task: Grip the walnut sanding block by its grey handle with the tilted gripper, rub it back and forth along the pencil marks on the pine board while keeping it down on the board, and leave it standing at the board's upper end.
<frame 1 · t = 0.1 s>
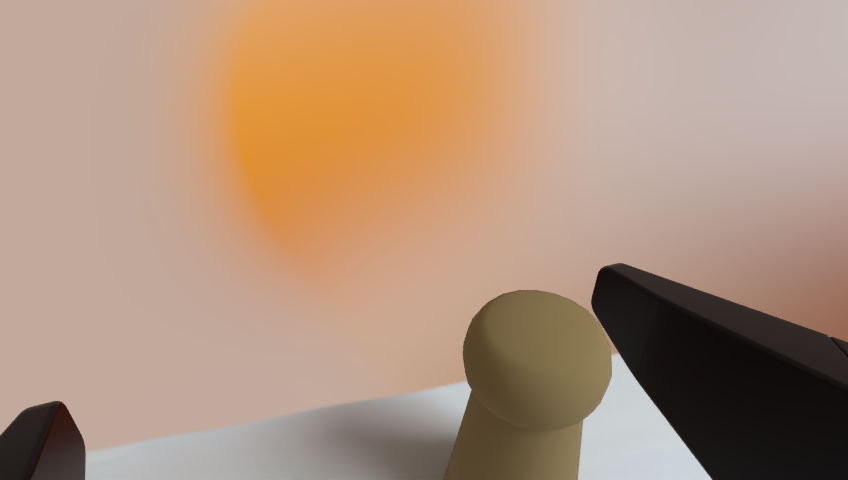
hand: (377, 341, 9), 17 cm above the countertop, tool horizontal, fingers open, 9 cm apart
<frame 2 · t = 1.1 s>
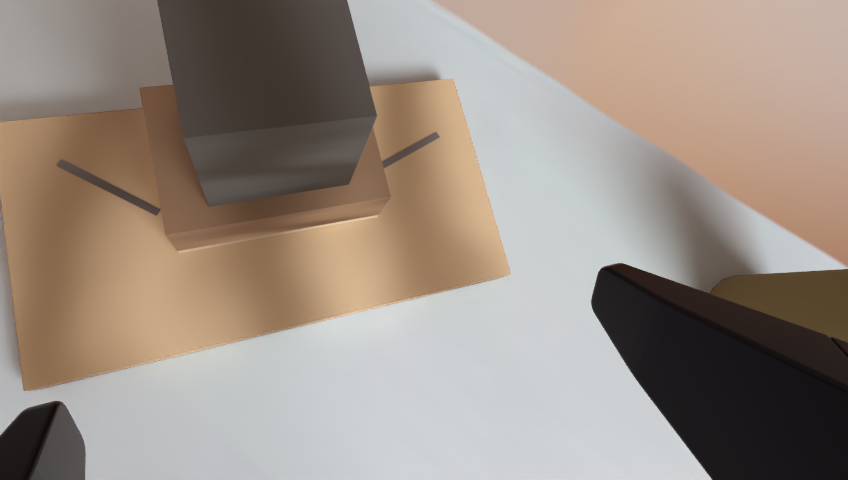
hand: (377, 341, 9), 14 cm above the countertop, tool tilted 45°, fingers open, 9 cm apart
pine board: (277, 213, 22), on the countertop
sanding block: (270, 172, 22), point 1 cm above the countertop, touching pine board
cork: (746, 330, 28), on the countertop
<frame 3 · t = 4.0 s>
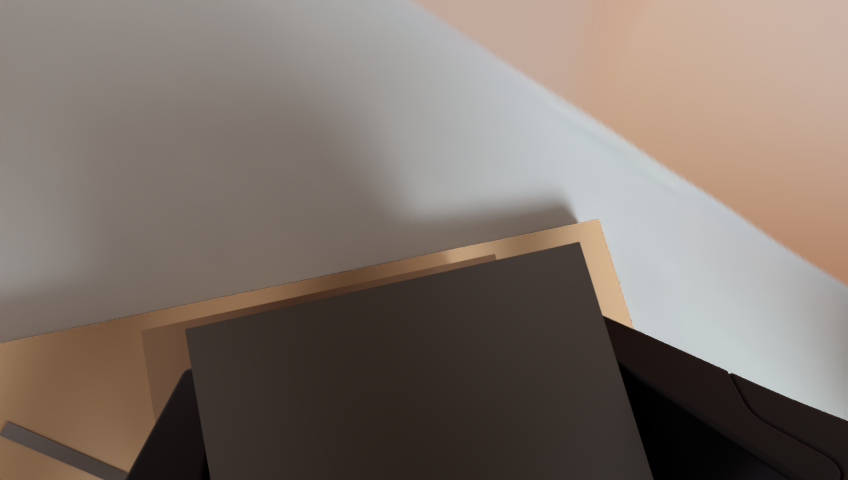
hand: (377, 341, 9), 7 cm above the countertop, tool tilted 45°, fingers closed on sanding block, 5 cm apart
pine board: (353, 455, 14), on the countertop
sanding block: (347, 403, 14), point 1 cm above the countertop, touching gripper, pine board
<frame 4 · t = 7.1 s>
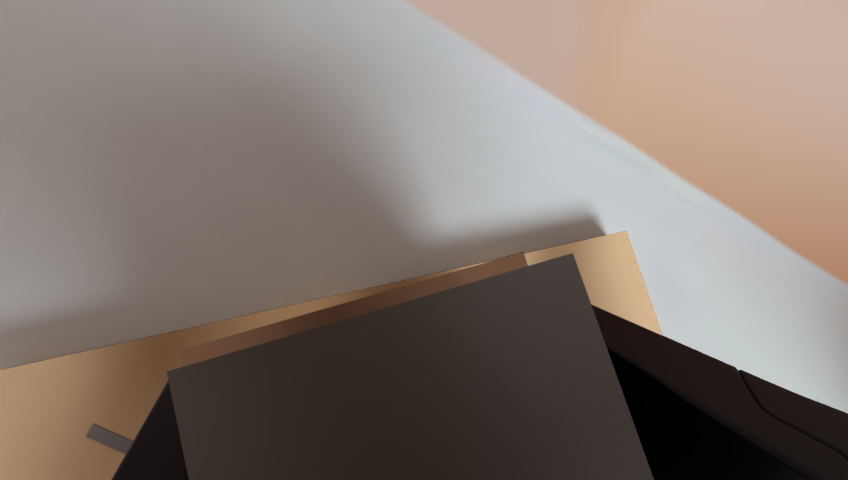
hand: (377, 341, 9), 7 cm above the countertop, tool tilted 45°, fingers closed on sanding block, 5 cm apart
pine board: (404, 456, 15), on the countertop
sanding block: (388, 406, 14), point 2 cm above the countertop, tilted 9°, touching gripper, pine board
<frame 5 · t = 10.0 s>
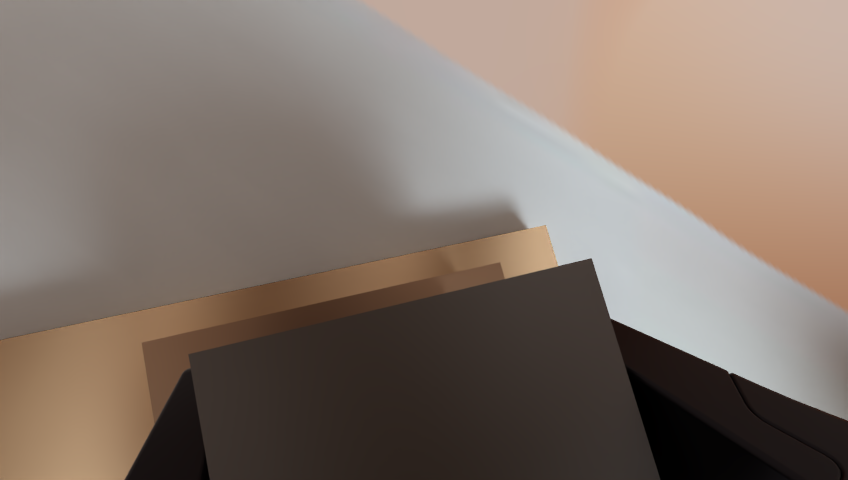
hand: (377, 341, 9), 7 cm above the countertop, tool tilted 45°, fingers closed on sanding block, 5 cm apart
pine board: (276, 478, 14), on the countertop
sanding block: (350, 412, 14), point 1 cm above the countertop, touching gripper
when the fingers open (7 cm above the countertop, at t = 12.9 s): sanding block stays where it is, resting on pine board.
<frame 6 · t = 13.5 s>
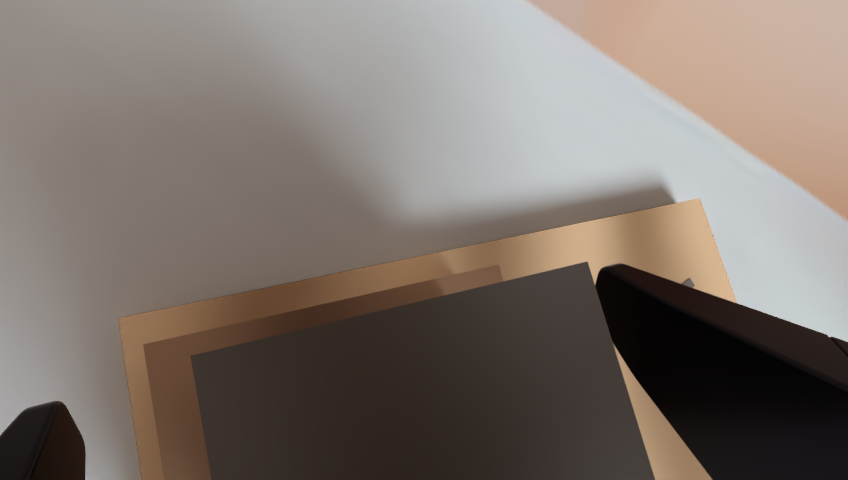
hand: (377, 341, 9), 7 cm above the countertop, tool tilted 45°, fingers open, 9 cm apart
pine board: (496, 409, 16), on the countertop
sanding block: (350, 414, 14), point 1 cm above the countertop, touching pine board
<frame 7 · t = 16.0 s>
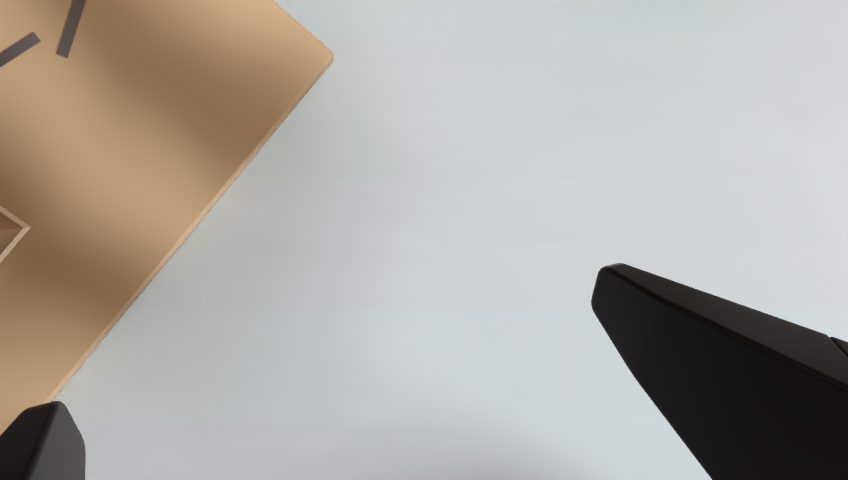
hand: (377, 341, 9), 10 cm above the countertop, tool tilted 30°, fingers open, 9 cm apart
pine board: (16, 182, 16), on the countertop
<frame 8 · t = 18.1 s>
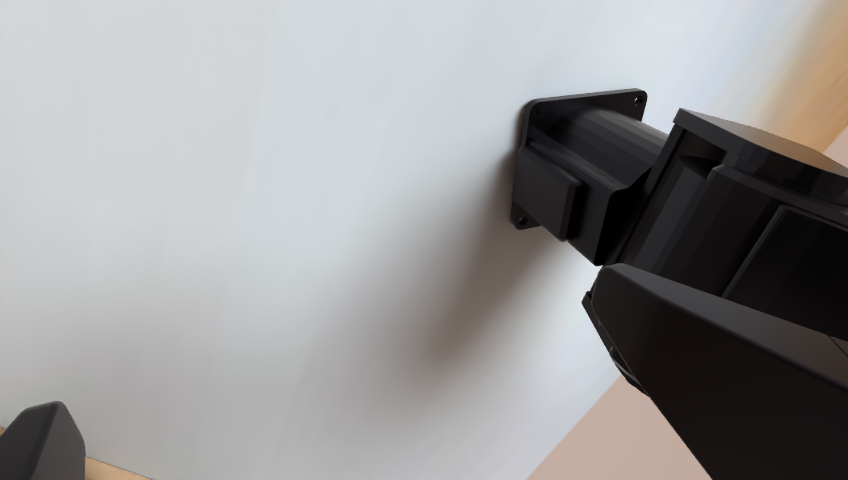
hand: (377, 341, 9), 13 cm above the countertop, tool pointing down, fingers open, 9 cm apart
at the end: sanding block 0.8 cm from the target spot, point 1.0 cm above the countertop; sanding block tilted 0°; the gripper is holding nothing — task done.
